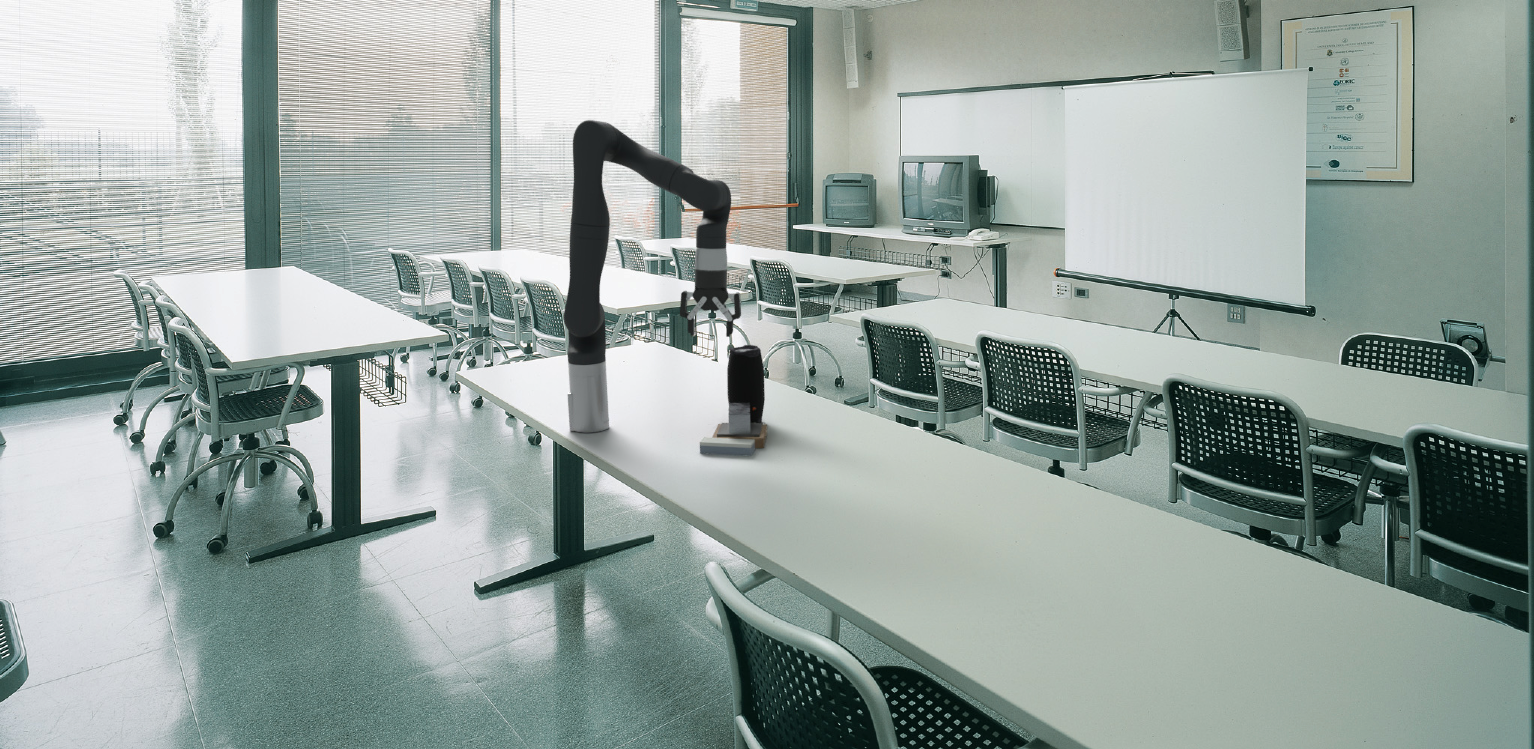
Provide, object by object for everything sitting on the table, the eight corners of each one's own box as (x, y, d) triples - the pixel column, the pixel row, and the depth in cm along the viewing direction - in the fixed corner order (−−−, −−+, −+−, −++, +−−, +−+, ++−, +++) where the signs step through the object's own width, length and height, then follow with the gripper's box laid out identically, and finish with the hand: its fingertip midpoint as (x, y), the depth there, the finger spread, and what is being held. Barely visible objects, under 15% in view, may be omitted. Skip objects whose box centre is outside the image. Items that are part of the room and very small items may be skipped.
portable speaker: (766, 426, 240) (764, 350, 236) (729, 427, 239) (727, 351, 235) (763, 417, 248) (762, 343, 244) (727, 418, 248) (725, 345, 243)
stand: (712, 447, 223) (711, 435, 222) (718, 433, 234) (718, 421, 234) (763, 448, 222) (763, 435, 221) (767, 433, 234) (767, 421, 233)
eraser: (700, 454, 219) (699, 442, 218) (704, 449, 223) (704, 437, 222) (750, 457, 216) (750, 444, 216) (754, 452, 220) (754, 439, 220)
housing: (729, 423, 232) (729, 403, 231) (750, 422, 233) (749, 402, 231) (729, 434, 223) (728, 413, 222) (750, 433, 223) (750, 413, 222)
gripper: (743, 266, 225) (742, 334, 229) (683, 264, 227) (683, 331, 230) (739, 270, 218) (738, 339, 222) (677, 268, 219) (677, 337, 223)
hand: (710, 335), depth 226 cm, fingers open, 8 cm apart
